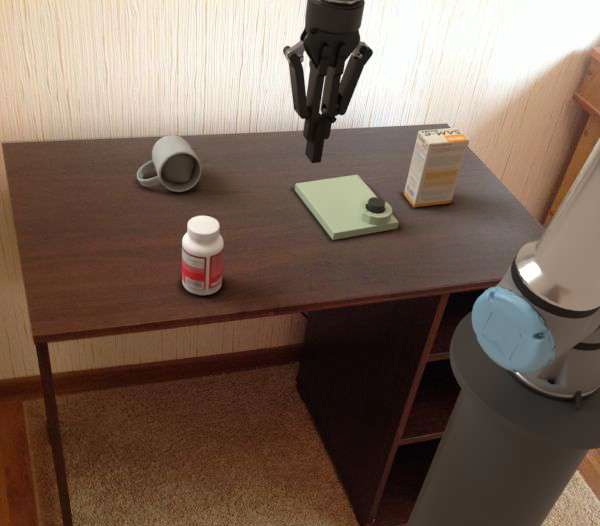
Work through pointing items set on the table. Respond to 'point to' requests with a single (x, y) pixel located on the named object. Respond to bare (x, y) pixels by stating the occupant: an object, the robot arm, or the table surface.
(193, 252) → the pill bottle
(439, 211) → the table surface
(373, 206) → the button
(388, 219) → the scale
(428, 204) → the supplement box
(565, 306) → the robot arm
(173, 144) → the ceramic mug
